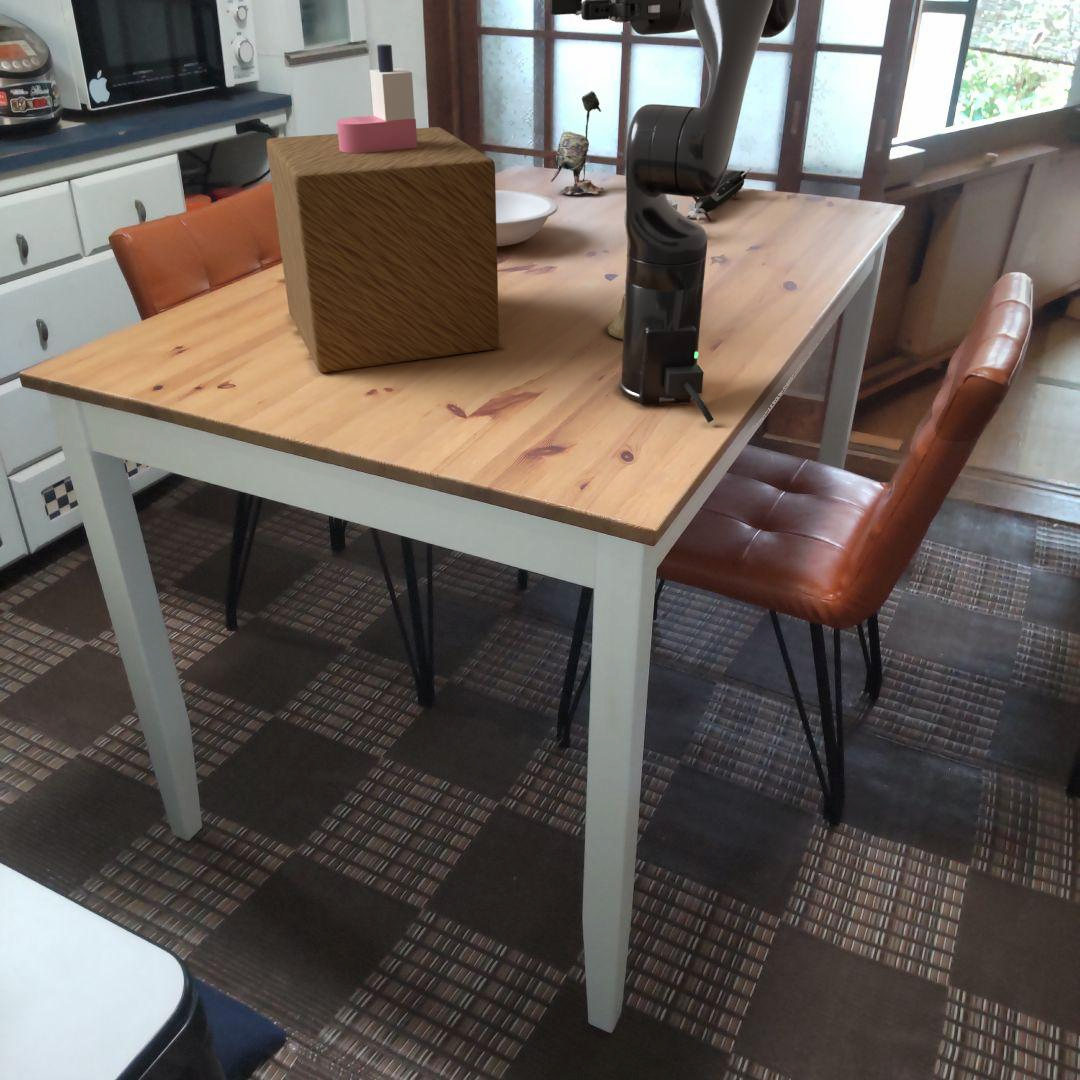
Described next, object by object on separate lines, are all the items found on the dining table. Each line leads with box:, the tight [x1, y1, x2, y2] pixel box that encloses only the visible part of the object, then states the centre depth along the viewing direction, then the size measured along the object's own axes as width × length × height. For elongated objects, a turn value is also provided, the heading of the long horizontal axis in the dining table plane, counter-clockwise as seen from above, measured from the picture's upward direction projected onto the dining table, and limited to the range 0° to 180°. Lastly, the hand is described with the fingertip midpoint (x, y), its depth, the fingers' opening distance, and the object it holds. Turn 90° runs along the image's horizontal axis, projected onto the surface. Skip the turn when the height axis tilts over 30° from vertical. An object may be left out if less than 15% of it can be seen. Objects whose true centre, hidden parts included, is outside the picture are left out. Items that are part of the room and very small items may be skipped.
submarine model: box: [686, 168, 752, 223], centre depth 205 cm, size 31×7×10 cm
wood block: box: [266, 126, 500, 373], centre depth 139 cm, size 25×25×25 cm
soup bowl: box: [496, 189, 559, 247], centre depth 183 cm, size 24×24×7 cm
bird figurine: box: [550, 90, 604, 196], centre depth 212 cm, size 8×11×20 cm
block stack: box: [336, 43, 417, 153], centre depth 129 cm, size 10×5×12 cm, turn 118°
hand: (566, 8), depth 133 cm, fingers open, 8 cm apart
